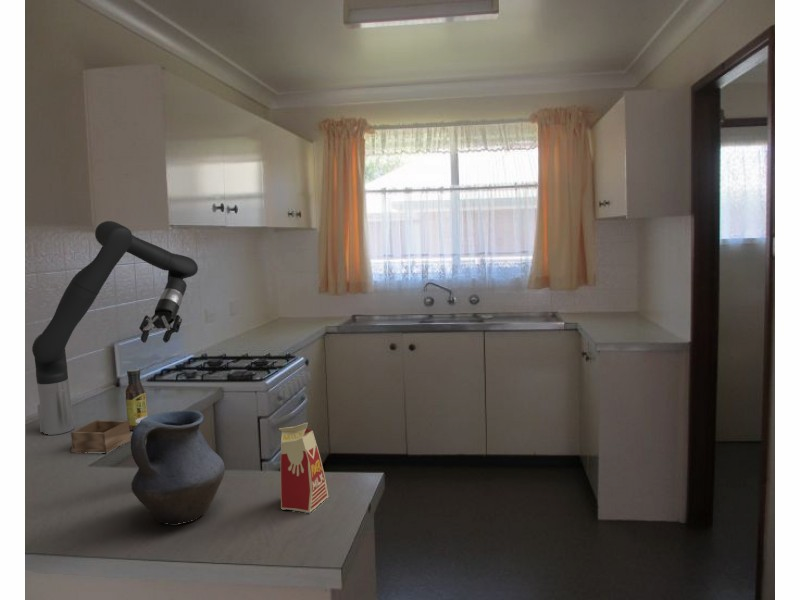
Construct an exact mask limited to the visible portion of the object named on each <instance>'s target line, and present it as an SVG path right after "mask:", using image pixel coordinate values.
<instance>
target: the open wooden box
mask: <svg viewBox="0 0 800 600" xmlns="http://www.w3.org/2000/svg"><path fill="white" fill-rule="evenodd" d="M130 431H131V430H130V429H129V421H128V420H102V419H101V420H100V419H99V420H98V419H97V420H95V421H92V422H90V423H87V424H85V425H84V426H81V427H80V428H77V429H75V430H73V431H72V432H71V431H70V436H71V445H72V447H71V448H70V453H71V452H81V453H80V454H89V453H88V452H105V453H107V452H109V451H110V450H112V449H114V448H116V447H118V446H120V445H121V444H124V443H126V442H128V441H130V442H131V437H132V435H131V432H130ZM128 443H129V442H128ZM126 444H127V443H126ZM124 445H125V444H124ZM85 452H87V453H85Z"/></svg>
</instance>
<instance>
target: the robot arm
mask: <svg viewBox="0 0 800 600" xmlns="http://www.w3.org/2000/svg"><path fill="white" fill-rule="evenodd" d="M94 231H95V232H94V236H95V239H96V242H98V243H99V244H100V245H101V248H100V250H99V252H98V253H97V254H96V256H95V257H94V258H93V260H92V261H90V263H88V264H87V265H86V266H84V267H83V268H82V269H81V270H80V271H78V272H77V273H76V274H74V276H73V277H72V279H71V280H70V282H69V284H68V285H67V287H66V289H65V290H64V292H63V294H62V296H61V297H60V300H59V301H58V305H57V307H56V309H55V312H54V315H53V317H52V319H51V320H50V322H49V323H48V325H46V327H45V328H44V330H43V332H42V333H40V334H39V335H37V337H35V339H34V341H33V343H32V345H31V346H32V348H31V351H32V355H33V357H34V364H35V365H34V366H35V378H36V385H37V387H36V388H37V394H38V401H39V404H37V415H38V422H39V429H40V430H39V431H40V433H41V432H43V433H44V434H43V433H42V434H43V435H45V434H48V435H47V436H51V435H52V436H54V435H61V434H65V433H67V432H71V431H72V430H73V431H74V429H75V425H74V418H73V407H72V399H71V392H70V383H69V374H68V373H69V372H68V363H67V355H66V346H67V344H68V342H69V340H70V339H71V336H72V334H73V332H74V330H75V329H76V327H77V326H78V325H79V323H80V322H81V320H83V317H85V315H86V313H88V311H89V309H90V308H91V306H92V305H93V304H94V302H95V300H96V298H97V297H98V295H99V294H100V292H101V289H102V288H103V287H104V284H105V283H106V281H107V280H108V278H109V276H110V275H111V273H112V271H113V270H114V268H115V267H116V266H117V265H118V263H119V262H120V260H121V259H122V257H124V255H125V254H126V253H128V254H131V255H132V256H134V257H136V258H138V259H140V260H142V261H144V262H146V263H148V264H149V265H151V266H154V267H156V268H157V269H160V270H162V271H167V282H166V284H165V287H164V289H163V292H162V293H161V295H160V297H159V298H158V299H159V300H158V302H157V304H156V307H155V309H154V314H153V315H152V316H149V315H145V316H144V317H143V319H142V322H141V323H140V326H139V330H140V331H141V332H142V333H141V336H140V340H141V342H142V343H143V344H145V343H147V341H148V338H149V336H150V333H152V332H154V331H156V330H157V329H158V330H159V329H166V330H165V333H164V335H163V337H162V340H163V342H164V343H168V342H169V341H170V340H171V337H172V335H173V334H174V333H178V332H179V331H180V328H181V324H182V323H183V322H182V321H183V319H182V317H181V316H180V315H179V314H178V313H179V310H180V307H181V305H182V302H183V298H184V295H185V293H186V290H187V287H188V285H187V283H186V281H185V280H184V279H187V278H191V277H194V276H195V275H197V273H198V271H199V267H198V266H199V265H198V264H197V262H196V261H195V260H194V259H192V258H191V257H188V256H185V255H182V254H178V253H172V252H171V251H168V250H167V249H165V248H163V247H160V246H158V245H156V244H153V243H151V242H148V241H146V240H143V239H142V238H139V237H137V236H135V235H133V234H132V231H131V229H129V228H128V227H126V226H125V225H122V224H120V223H118V222H116V221H112V220H105V221H103V222H100V223H99V224H98V225H97V227H96V228H95V230H94ZM172 323H173V324H172ZM171 324H172V325H171Z"/></svg>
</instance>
